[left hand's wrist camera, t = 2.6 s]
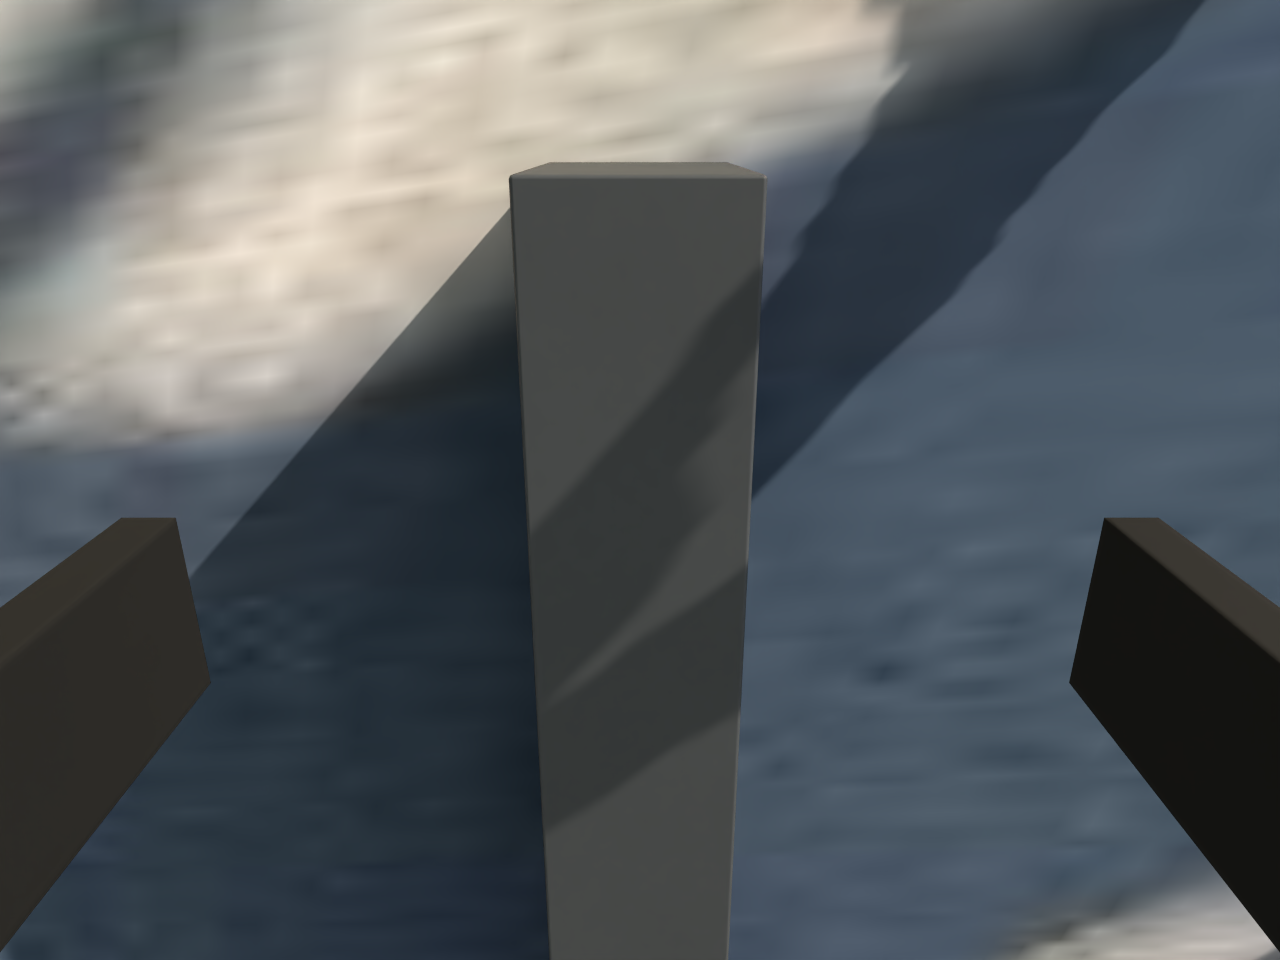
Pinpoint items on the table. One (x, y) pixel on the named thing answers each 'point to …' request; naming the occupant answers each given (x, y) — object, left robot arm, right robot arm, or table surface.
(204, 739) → the table surface
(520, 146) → the table surface
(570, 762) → the beam
